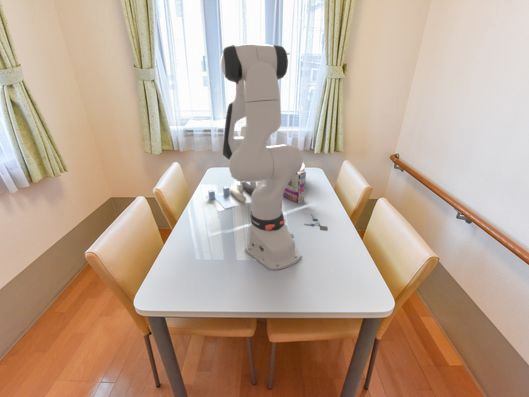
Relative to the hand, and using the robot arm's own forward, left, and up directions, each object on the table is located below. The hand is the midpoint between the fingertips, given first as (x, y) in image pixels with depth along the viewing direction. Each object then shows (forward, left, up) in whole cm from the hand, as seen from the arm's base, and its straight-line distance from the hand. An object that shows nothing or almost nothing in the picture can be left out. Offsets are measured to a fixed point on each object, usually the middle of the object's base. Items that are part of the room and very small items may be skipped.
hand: (250, 182), depth 138 cm
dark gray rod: (0, 0, -6) cm, 6 cm away
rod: (0, +8, -6) cm, 10 cm away
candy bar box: (-16, -16, -7) cm, 24 cm away
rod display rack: (0, +8, -7) cm, 11 cm away
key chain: (-39, -10, -8) cm, 41 cm away
